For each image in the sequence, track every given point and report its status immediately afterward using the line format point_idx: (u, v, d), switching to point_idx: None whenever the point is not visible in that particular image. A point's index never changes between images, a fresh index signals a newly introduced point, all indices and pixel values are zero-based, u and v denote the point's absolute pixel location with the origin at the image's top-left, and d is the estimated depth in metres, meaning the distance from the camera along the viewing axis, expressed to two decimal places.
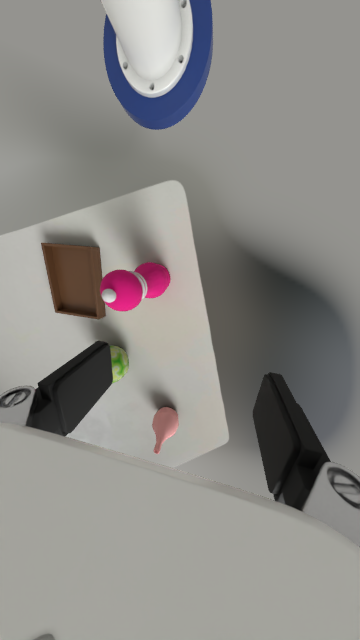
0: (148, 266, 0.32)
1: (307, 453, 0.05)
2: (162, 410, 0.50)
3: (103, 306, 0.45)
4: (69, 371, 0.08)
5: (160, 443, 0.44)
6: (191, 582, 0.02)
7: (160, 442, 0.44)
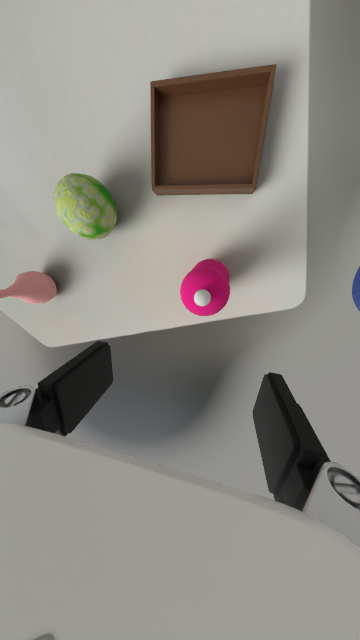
0: None
1: (307, 453, 0.05)
2: (49, 282, 0.41)
3: (170, 194, 0.31)
4: (69, 371, 0.08)
5: (8, 295, 0.35)
6: (191, 582, 0.02)
7: (9, 295, 0.35)
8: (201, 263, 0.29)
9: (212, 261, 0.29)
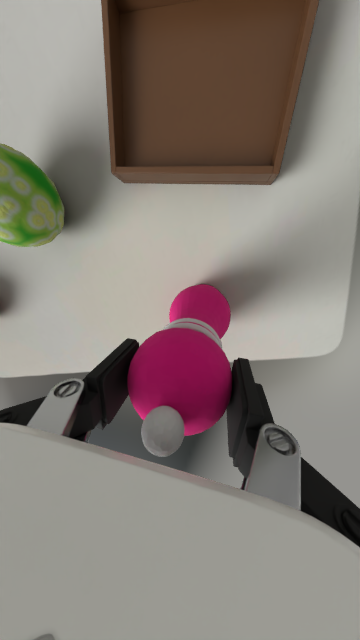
0: (224, 330, 0.18)
1: (252, 417, 0.06)
2: None
3: (143, 181, 0.20)
4: (110, 365, 0.08)
5: None
6: (191, 582, 0.02)
7: None
8: (186, 293, 0.18)
9: (204, 291, 0.18)
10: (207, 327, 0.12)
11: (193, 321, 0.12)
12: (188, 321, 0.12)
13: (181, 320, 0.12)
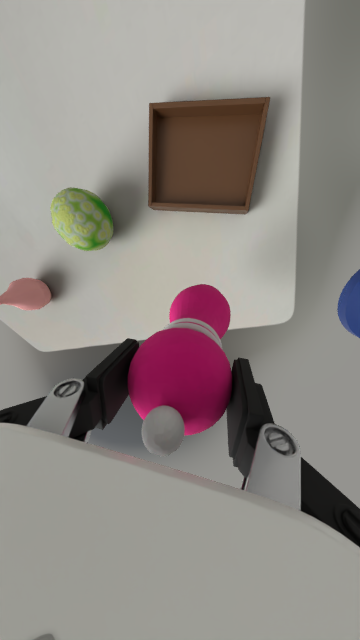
0: (224, 330, 0.18)
1: (252, 417, 0.06)
2: (44, 289, 0.41)
3: (166, 209, 0.32)
4: (110, 365, 0.08)
5: (1, 303, 0.35)
6: (191, 582, 0.02)
7: (2, 302, 0.35)
8: (186, 293, 0.18)
9: (204, 291, 0.18)
10: (207, 327, 0.12)
11: (193, 321, 0.12)
12: (188, 321, 0.12)
13: (181, 320, 0.12)
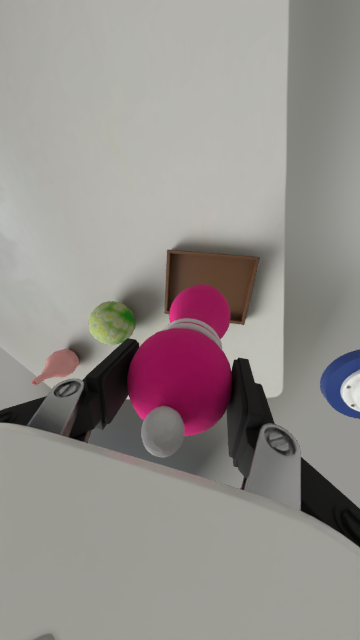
0: (224, 330, 0.18)
1: (252, 417, 0.06)
2: (74, 359, 0.49)
3: None
4: (110, 366, 0.08)
5: (43, 379, 0.43)
6: (191, 582, 0.02)
7: None
8: (186, 294, 0.18)
9: (204, 291, 0.18)
10: (207, 327, 0.12)
11: (193, 321, 0.12)
12: (188, 321, 0.12)
13: (181, 320, 0.12)
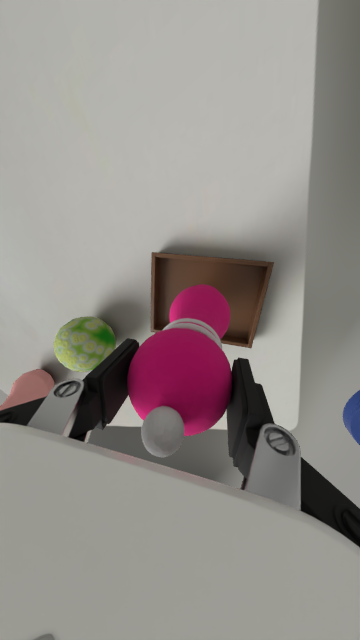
0: (224, 330, 0.18)
1: (252, 417, 0.06)
2: (47, 382, 0.41)
3: None
4: (110, 365, 0.08)
5: None
6: (191, 582, 0.02)
7: None
8: (186, 294, 0.18)
9: (204, 291, 0.18)
10: (207, 327, 0.12)
11: (193, 321, 0.12)
12: (188, 321, 0.12)
13: (181, 320, 0.12)
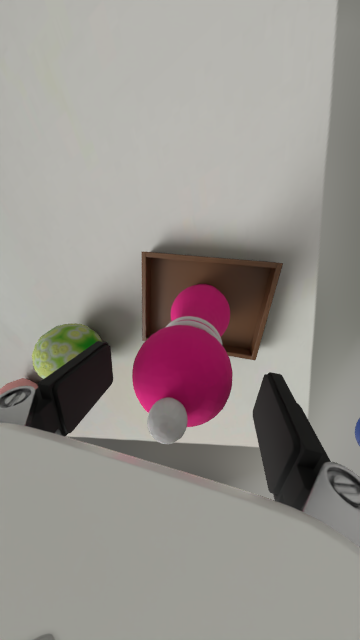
0: (224, 328, 0.19)
1: (307, 453, 0.05)
2: None
3: None
4: (69, 371, 0.08)
5: None
6: (191, 582, 0.02)
7: None
8: (187, 293, 0.19)
9: (204, 291, 0.18)
10: (208, 325, 0.13)
11: (194, 319, 0.13)
12: (189, 319, 0.13)
13: (183, 318, 0.13)
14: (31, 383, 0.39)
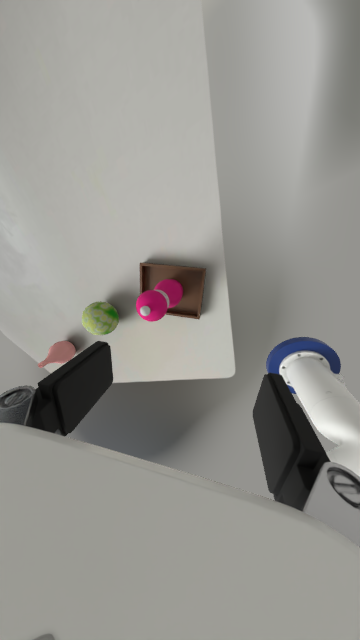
0: (177, 299, 0.41)
1: (307, 453, 0.05)
2: (71, 349, 0.60)
3: None
4: (69, 371, 0.08)
5: None
6: (191, 582, 0.02)
7: (47, 363, 0.55)
8: (160, 282, 0.41)
9: (168, 281, 0.41)
10: (163, 292, 0.35)
11: (158, 290, 0.35)
12: (156, 290, 0.35)
13: (154, 290, 0.35)
14: (70, 343, 0.61)
